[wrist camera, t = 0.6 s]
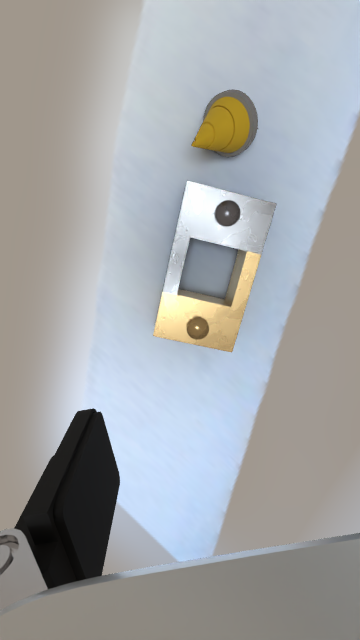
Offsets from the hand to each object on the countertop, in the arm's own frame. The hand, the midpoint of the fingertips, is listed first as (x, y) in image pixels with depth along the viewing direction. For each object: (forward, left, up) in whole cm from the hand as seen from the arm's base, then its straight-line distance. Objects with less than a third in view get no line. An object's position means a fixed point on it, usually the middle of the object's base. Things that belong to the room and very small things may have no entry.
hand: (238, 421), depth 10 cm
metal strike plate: (-3, 0, -26) cm, 26 cm away
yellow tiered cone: (-13, -9, -26) cm, 31 cm away
